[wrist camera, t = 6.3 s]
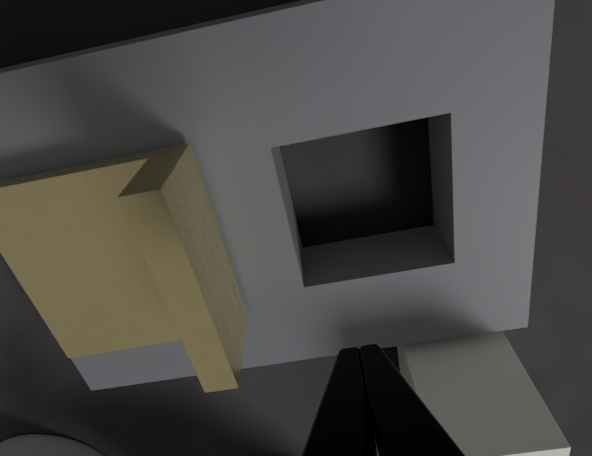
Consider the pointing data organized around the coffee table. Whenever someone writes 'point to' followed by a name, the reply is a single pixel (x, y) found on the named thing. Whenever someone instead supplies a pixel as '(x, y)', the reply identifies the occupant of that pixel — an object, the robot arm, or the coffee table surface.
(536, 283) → the coffee table surface
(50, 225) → the tan piece
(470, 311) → the socket block
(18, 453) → the mug
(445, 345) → the plug
